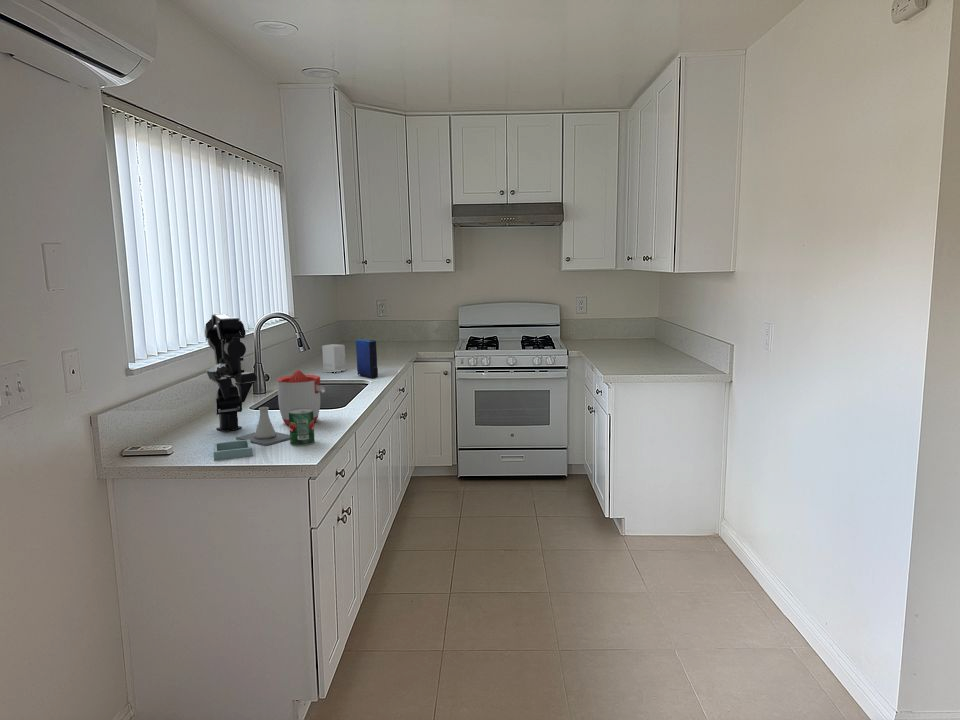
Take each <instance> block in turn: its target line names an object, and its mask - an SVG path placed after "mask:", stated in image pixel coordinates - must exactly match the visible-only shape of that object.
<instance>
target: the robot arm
mask: <svg viewBox="0 0 960 720" xmlns="http://www.w3.org/2000/svg"><path fill="white" fill-rule="evenodd" d="M246 334H247V333H246V329H245V325H244V323H243V321H242V320H240V318H239V317H237V316H236V317H235V316H234V317H230V316H228V314H227V313H224V312H223V313H213V314H211V319H209V320H208V321H207V322H206V323H205V327H204V336H205V340H207V344H208V346H209V347H210V348H211V349H212V350H213V353H214V360H215V365H213V366H211V367H209V368H208V369H206V371H205V372H206V374H207V376H208V378H209V380H211V381H212V382H214V383H216V384H217V386H218V389H217V392H216V394H215V398H214V403H213V404H214V405H213V409H214V414H216V415H218V418H219V419H218V420H219V427H215V429H216V430H217V431H223V432H228V433H229V432H232V431H234V430H239V429H242V428H243V426H239V419H238V418H239V417H238V413H242V411H243V403H245V401H246V400H247V397H248V394H249V392H250V391H251V388H252V386H253V384H255V382H256V381H258V375H257V373H255V372H254V371H253V372H252V371H245V369H244V368H242V361H244V356H245V355H246V352H247V348H246V345H245V344H244V343H243V342H242V341H241V339H245V338H246ZM232 379H234V381H235V383H234V384H233V381H232Z"/></svg>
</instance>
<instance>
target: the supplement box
mask: <svg viewBox="0 0 960 720" xmlns="http://www.w3.org/2000/svg"><path fill="white" fill-rule="evenodd" d="M321 348H322V349H321V351H322V366H323V367H322V369H326V370H341V369H345V368H346V365H347V364H346V348H345V344H336V343H333V344H332V343H331V344H324V345H321ZM341 371H344V372H346V371H345V370H341ZM341 371H336V372H339V373H342V372H341ZM323 372H324V370H323ZM327 372H333V371H326V372H325V373H327ZM333 374H336V373H335V372H334V373H333Z"/></svg>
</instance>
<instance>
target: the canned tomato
mask: <svg viewBox="0 0 960 720" xmlns="http://www.w3.org/2000/svg"><path fill="white" fill-rule="evenodd" d="M288 427H289V435H290V440H289V444H290V445H291V446H293V447H306V446H310V445H313V444H315V442H316V441H315V422H314V417H313V409H311V408H297V409H292V410H289V425H288Z"/></svg>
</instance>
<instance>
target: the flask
mask: <svg viewBox="0 0 960 720" xmlns="http://www.w3.org/2000/svg"><path fill="white" fill-rule="evenodd" d="M269 410H270V408H269V407H267V406H262V407H261V406H260V407H259V408H258V411H259V418H258V419H259V420H258V422H257V425H256V426H257V427H256V430H255V432H254V433H255V436H254V437H255V438H257V439H265V438H271V437H275V436H276V432H277V431H275V429H274V427H273V424H272V422H271V419H270V415H269Z"/></svg>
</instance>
